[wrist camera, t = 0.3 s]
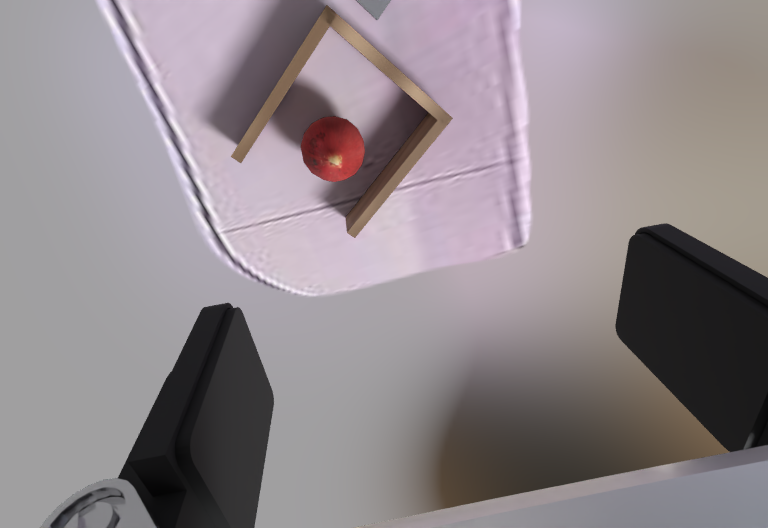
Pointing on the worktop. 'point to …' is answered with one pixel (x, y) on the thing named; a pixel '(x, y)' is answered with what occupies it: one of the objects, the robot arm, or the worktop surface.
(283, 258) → the worktop surface
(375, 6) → the mat
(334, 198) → the worktop surface
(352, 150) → the onion
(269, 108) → the tan u-shaped frame
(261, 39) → the worktop surface
